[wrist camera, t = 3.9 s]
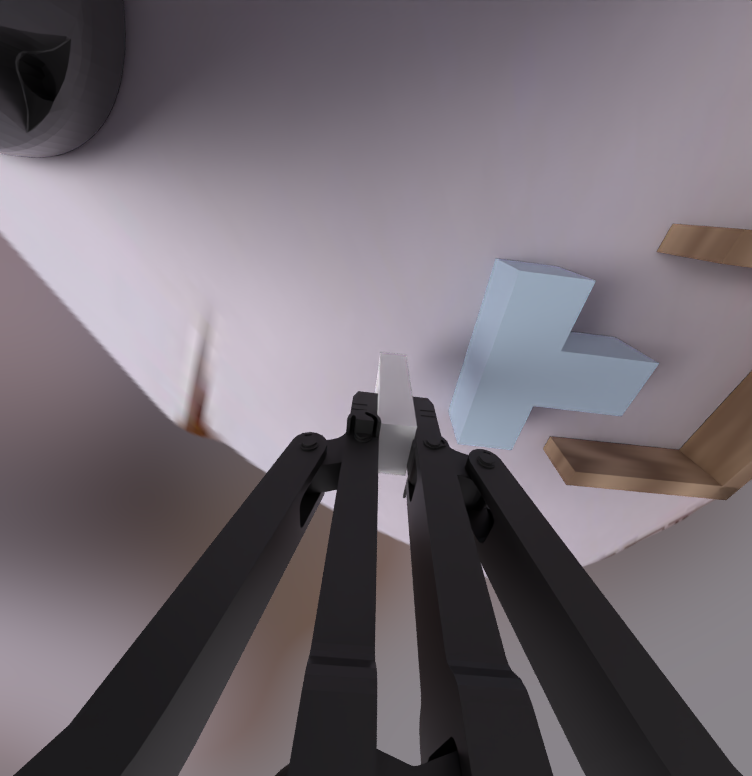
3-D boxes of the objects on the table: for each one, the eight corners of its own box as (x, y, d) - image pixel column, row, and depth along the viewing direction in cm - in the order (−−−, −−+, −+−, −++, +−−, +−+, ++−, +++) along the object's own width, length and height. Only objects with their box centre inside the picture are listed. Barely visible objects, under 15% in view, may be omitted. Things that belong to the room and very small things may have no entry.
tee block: (448, 411, 25) (457, 444, 21) (495, 258, 18) (519, 270, 15) (563, 424, 25) (590, 458, 22) (649, 278, 19) (707, 295, 15)
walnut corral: (542, 448, 27) (566, 484, 23) (672, 223, 17) (744, 229, 14) (683, 463, 27) (726, 500, 24) (885, 253, 18) (1004, 265, 14)
